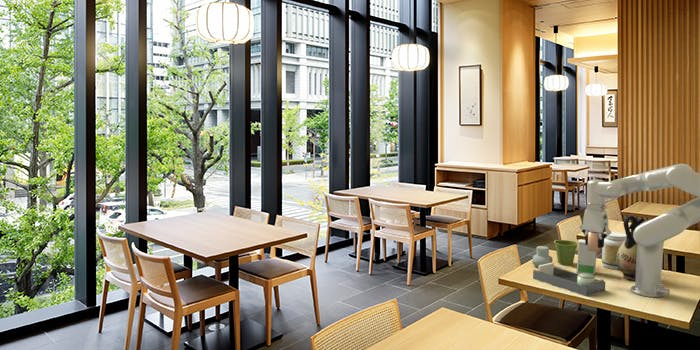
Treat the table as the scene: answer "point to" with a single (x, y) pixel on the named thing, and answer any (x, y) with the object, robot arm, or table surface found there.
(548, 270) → the pusher plate
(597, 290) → the grey tray
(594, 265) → the skincare box
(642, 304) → the table surface
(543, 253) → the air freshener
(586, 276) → the sage ceramic jar
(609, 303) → the table surface
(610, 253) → the supplement tub
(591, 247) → the terracotta jar
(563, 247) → the plant pot
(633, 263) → the ceramic jug
